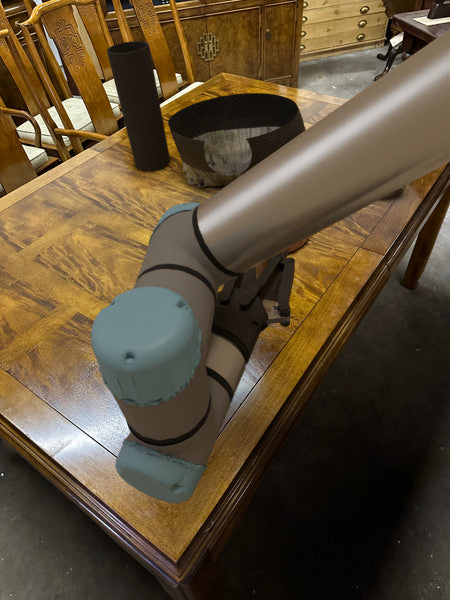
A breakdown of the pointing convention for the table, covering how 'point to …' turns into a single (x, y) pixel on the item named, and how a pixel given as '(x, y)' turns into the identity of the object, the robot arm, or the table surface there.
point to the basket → (232, 134)
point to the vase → (139, 103)
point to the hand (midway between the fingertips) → (275, 228)
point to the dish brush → (251, 278)
